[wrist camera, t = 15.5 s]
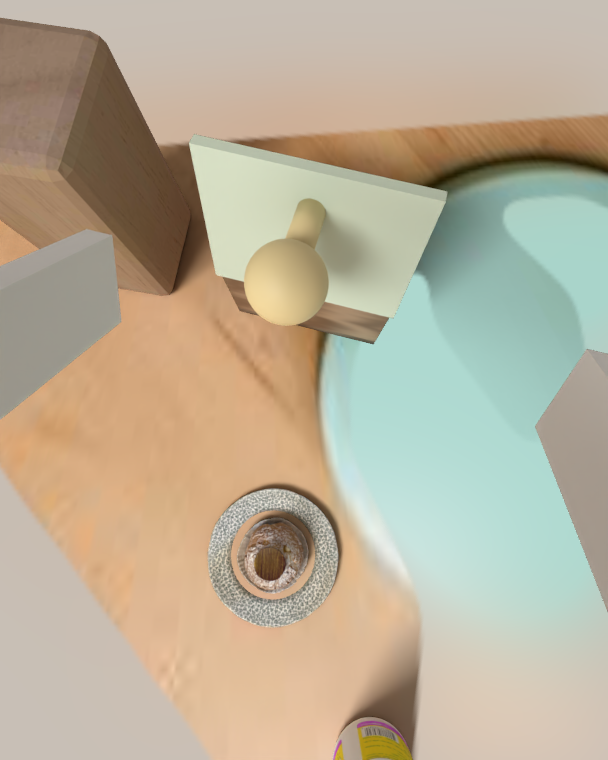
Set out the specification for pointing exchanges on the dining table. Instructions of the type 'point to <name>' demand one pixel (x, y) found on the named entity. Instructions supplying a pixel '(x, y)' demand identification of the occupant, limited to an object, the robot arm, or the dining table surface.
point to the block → (84, 154)
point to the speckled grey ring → (273, 558)
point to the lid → (310, 230)
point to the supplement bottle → (371, 741)
